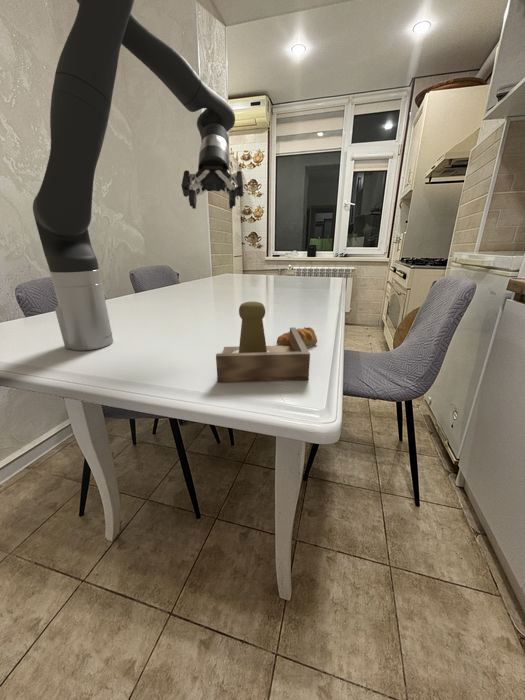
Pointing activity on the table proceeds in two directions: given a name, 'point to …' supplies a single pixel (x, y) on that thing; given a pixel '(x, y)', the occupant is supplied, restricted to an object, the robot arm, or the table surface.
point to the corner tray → (265, 363)
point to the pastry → (305, 334)
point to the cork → (252, 328)
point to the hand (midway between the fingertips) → (212, 205)
